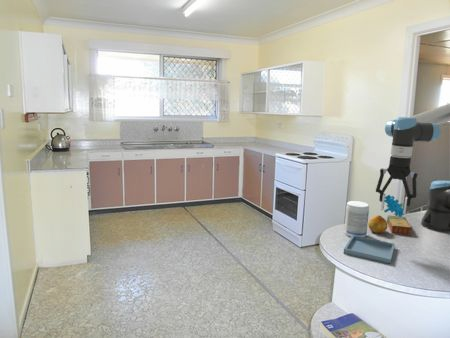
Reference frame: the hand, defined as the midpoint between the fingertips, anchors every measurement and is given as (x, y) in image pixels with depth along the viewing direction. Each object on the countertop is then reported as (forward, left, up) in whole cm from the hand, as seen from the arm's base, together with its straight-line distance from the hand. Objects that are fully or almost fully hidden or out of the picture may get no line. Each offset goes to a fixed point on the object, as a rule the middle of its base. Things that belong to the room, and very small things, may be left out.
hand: (393, 211), depth 146 cm
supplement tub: (+15, -7, -16) cm, 23 cm away
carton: (-1, -27, -16) cm, 32 cm away
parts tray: (+6, +8, -16) cm, 19 cm away
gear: (0, 0, -2) cm, 2 cm away
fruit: (+7, -17, -16) cm, 24 cm away
